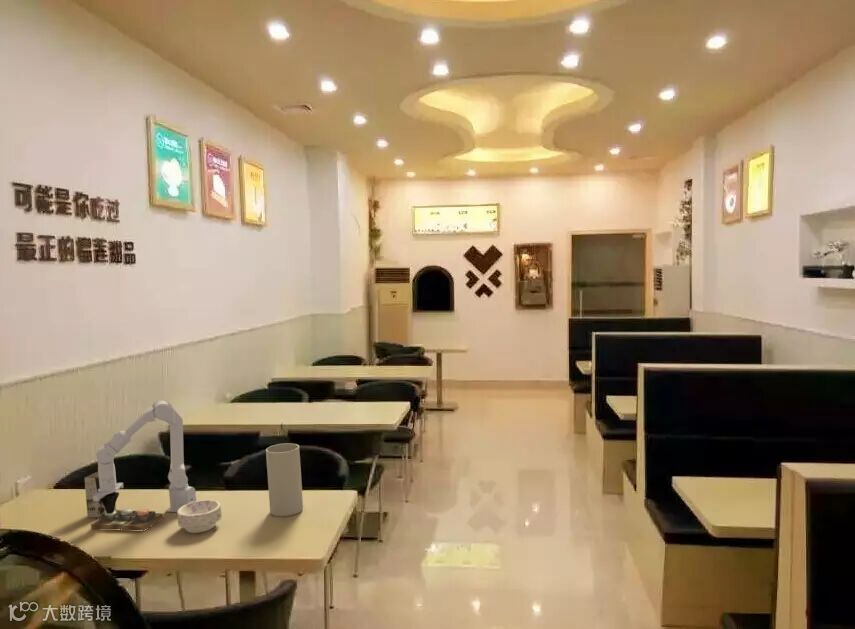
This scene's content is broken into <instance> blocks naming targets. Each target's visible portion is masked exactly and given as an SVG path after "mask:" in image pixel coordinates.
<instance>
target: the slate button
mask: <svg viewBox="0 0 855 629" xmlns="http://www.w3.org/2000/svg"><path fill="white" fill-rule="evenodd" d="M133 511H134V510H133V509H132V508H124V509H122V511H121V516H130V515H131V514H133Z"/></svg>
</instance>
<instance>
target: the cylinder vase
mask: <svg viewBox="0 0 855 629" xmlns="http://www.w3.org/2000/svg"><path fill="white" fill-rule="evenodd" d="M265 456H266V470H267V473H266V474H267V484H268V485H267V486H268V500H269V512H270V514H271V515H272V516H274V517H279V518H280V517H281V518H282V517H283V518H285V517H291V516H295V515H297V514H300V513H301V512H302V511H303V509H304V503H303V500H304V499H303V486H302V470H301V455H300V445H299V444H297V443H288V442H287V443H277V444H273V445H270V446H269V447H267V448H266V449H265Z"/></svg>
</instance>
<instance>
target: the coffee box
mask: <svg viewBox="0 0 855 629" xmlns="http://www.w3.org/2000/svg"><path fill="white" fill-rule="evenodd" d="M84 489H85V490H84V491H85V501H86V515H87V518H96V517H97V519H98V516H99V515H101V514H102V513H104V512H106V509H105V507H104V505H103V503H102V502H101V501H100V500H99V501H93V496H94V495H95V494H96V493H97V492H98V489H100V485H99V474H98V471H96V472H94V473H92V474H89V475H87V476H85V477H84ZM116 507H117V504H115V510H117V508H116Z"/></svg>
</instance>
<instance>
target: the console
mask: <svg viewBox="0 0 855 629" xmlns="http://www.w3.org/2000/svg"><path fill="white" fill-rule="evenodd" d="M122 510H123V509H122ZM122 510H121V509H119V510H118V509H115V510H114V511H116V514H114V515H112V516H105V513H106V512H104V513H102V514H101V515H99V516H98V518H97V519H98V520H95V521H94V522H92V523H90V530H95V529H120V530H121V529H122V530H143V531H142V532H145V531H146V530H145V529H147V528H148V529H150V528H151V527H152V526H151V525H153V524H154V525H155V523H156V522H157V523H159V522H160V521H161V519H162V518H163V519H164V514H163V513H157V512H156V510H149V515H147V516H146V517H138V514H137V512H138V511H139V510H132V511H133V514H131V515H130V516H121V511H122ZM163 519H162V520H163ZM159 520H160V521H159ZM158 521H159V522H158ZM157 523H156V524H157ZM154 525H153V526H154ZM150 526H151V527H150ZM149 527H150V528H149ZM148 529H147V530H148ZM144 530H145V531H144Z"/></svg>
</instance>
